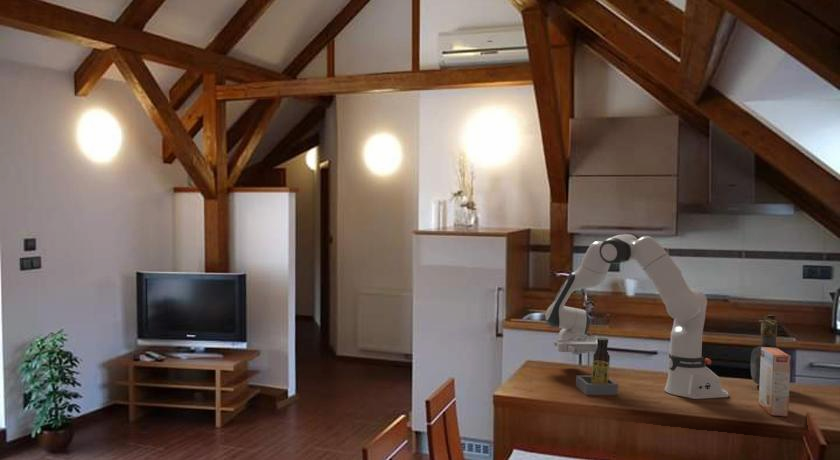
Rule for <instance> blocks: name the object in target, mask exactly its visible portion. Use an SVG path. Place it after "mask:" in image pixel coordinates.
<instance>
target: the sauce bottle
mask: <svg viewBox="0 0 840 460" xmlns="http://www.w3.org/2000/svg"><path fill="white" fill-rule="evenodd" d="M597 342H598V344H597V350H596V352H593V358H592V359H593V360H592V366H591V367H592V368H591V376H592V379H591V384H608V378H610V377H609V375H610V359H611V356H610V354H609V352H608V344H609V339H608V338H606V337H598V339H597Z"/></svg>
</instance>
